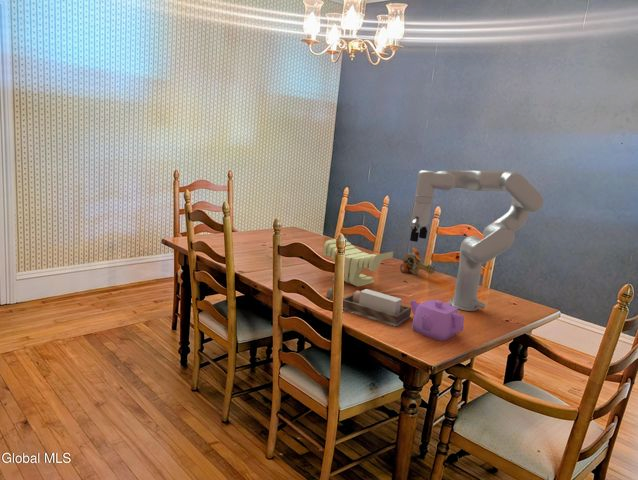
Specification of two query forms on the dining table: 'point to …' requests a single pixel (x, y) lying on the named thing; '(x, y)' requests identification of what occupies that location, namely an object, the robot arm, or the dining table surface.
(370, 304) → the pale grey block
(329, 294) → the chocolate bunny
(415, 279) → the dining table surface
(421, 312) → the teakettle
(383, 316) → the wooden tray
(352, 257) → the slatted curved stool
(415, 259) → the toy helicopter
